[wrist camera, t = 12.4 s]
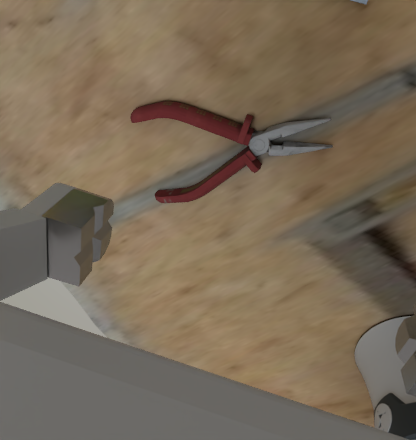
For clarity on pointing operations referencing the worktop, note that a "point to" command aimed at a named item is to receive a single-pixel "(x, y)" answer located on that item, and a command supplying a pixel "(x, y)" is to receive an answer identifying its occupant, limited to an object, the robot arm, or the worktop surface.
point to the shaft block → (361, 1)
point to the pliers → (231, 131)
